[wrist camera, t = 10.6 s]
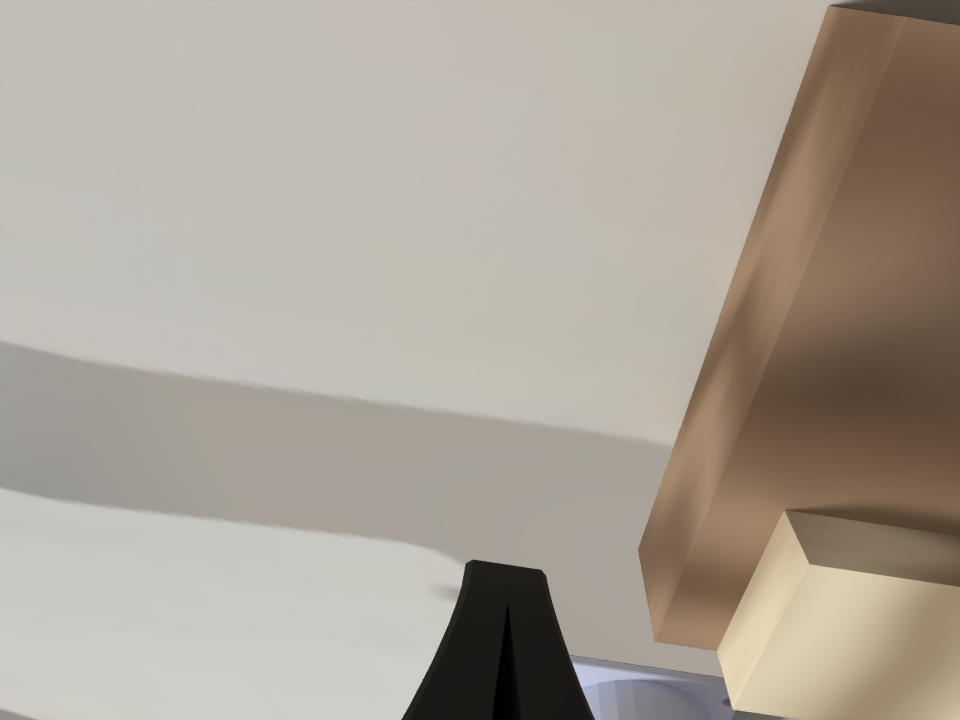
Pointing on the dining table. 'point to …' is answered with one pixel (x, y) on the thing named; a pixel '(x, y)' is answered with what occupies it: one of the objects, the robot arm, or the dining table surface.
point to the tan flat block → (828, 330)
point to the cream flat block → (848, 624)
